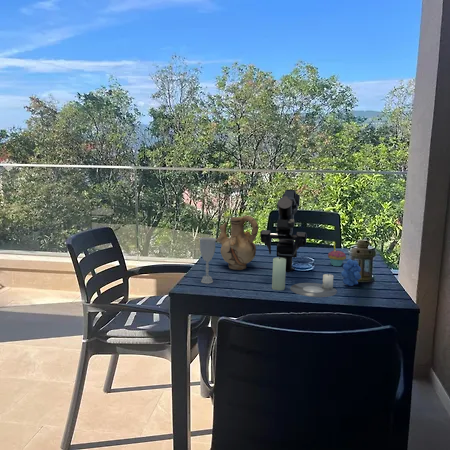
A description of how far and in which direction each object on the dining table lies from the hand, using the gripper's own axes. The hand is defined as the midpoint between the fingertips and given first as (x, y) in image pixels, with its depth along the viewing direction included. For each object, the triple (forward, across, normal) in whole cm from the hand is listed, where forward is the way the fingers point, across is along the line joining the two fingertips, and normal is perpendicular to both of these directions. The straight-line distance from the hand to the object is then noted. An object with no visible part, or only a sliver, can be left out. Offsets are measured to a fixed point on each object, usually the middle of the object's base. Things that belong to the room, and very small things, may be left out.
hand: (281, 254), depth 183 cm
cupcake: (-20, +23, +39) cm, 49 cm away
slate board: (+13, +13, +6) cm, 19 cm away
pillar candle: (+14, 0, +4) cm, 15 cm away
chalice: (+11, -30, +8) cm, 33 cm away
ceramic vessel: (-8, -22, +26) cm, 35 cm away
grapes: (+6, +29, +13) cm, 32 cm away
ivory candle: (+9, +19, +8) cm, 22 cm away
